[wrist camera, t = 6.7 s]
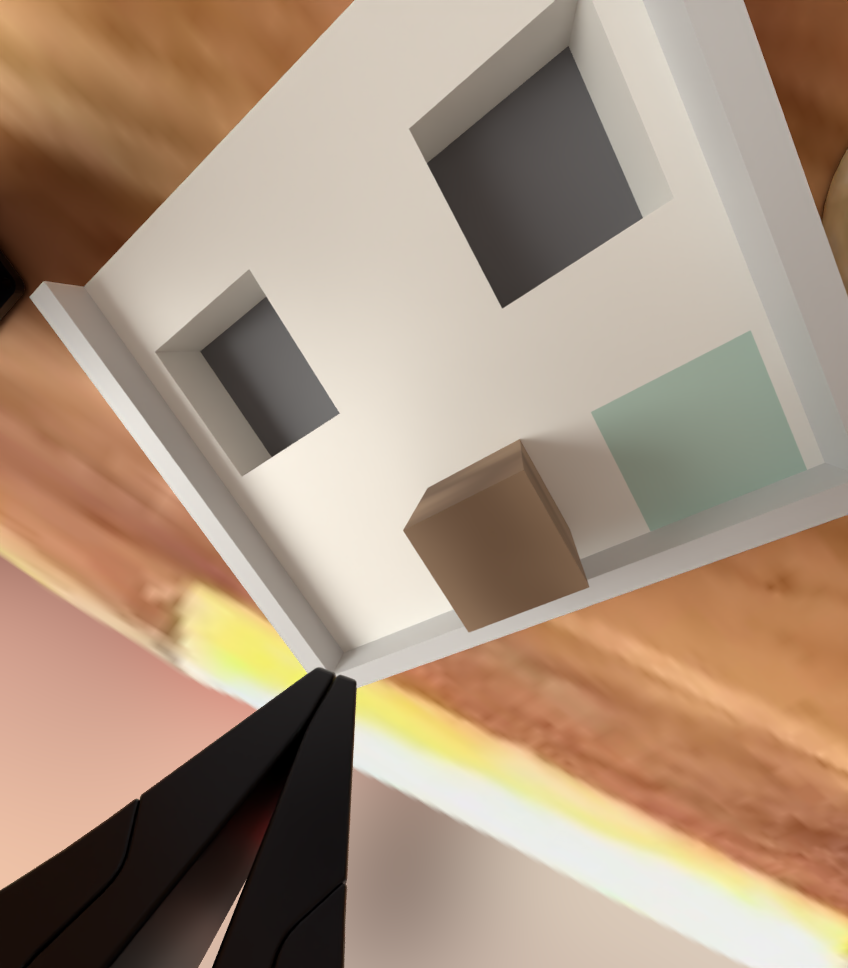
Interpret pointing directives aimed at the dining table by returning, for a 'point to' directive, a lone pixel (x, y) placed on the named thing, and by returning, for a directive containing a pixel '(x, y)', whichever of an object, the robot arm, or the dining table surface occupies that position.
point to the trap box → (482, 311)
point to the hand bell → (838, 218)
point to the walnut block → (496, 539)
